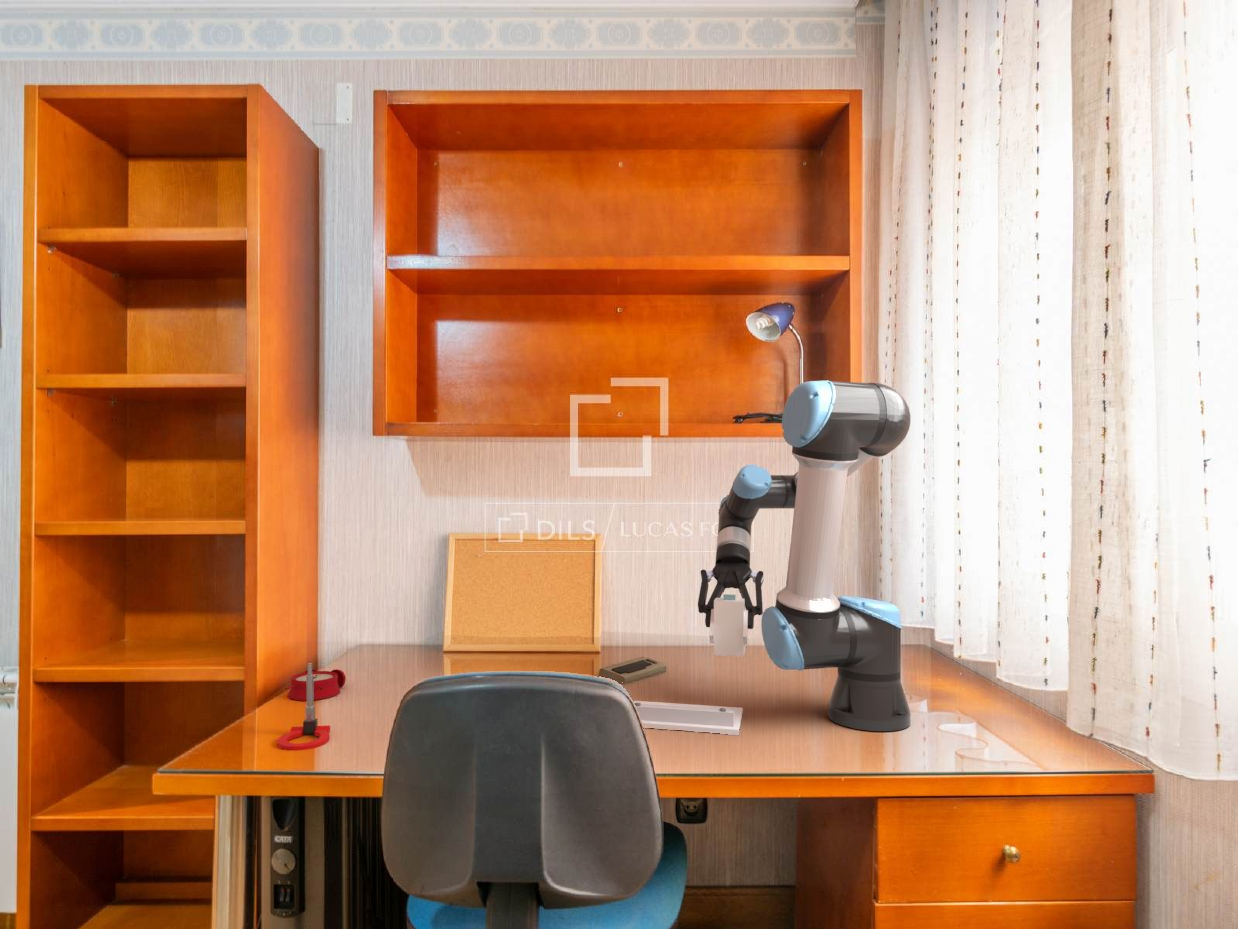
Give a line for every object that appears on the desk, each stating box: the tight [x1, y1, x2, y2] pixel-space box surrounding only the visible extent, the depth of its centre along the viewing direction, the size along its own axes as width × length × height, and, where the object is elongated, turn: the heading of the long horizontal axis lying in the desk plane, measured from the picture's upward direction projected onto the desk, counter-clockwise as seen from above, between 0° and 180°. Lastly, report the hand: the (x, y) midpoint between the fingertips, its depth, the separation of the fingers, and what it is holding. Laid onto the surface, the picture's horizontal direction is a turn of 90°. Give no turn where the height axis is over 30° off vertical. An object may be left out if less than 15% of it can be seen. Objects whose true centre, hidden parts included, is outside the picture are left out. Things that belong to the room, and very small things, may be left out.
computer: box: [598, 656, 667, 685], centre depth 184 cm, size 16×8×3 cm, turn 140°
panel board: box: [633, 700, 744, 736], centre depth 150 cm, size 22×14×4 cm, turn 78°
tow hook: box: [277, 662, 331, 751], centre depth 137 cm, size 8×13×9 cm
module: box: [713, 593, 746, 657], centre depth 162 cm, size 6×5×12 cm
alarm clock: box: [285, 668, 347, 703], centre depth 168 cm, size 10×6×15 cm
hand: (728, 639), depth 158 cm, fingers closed on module, 6 cm apart
